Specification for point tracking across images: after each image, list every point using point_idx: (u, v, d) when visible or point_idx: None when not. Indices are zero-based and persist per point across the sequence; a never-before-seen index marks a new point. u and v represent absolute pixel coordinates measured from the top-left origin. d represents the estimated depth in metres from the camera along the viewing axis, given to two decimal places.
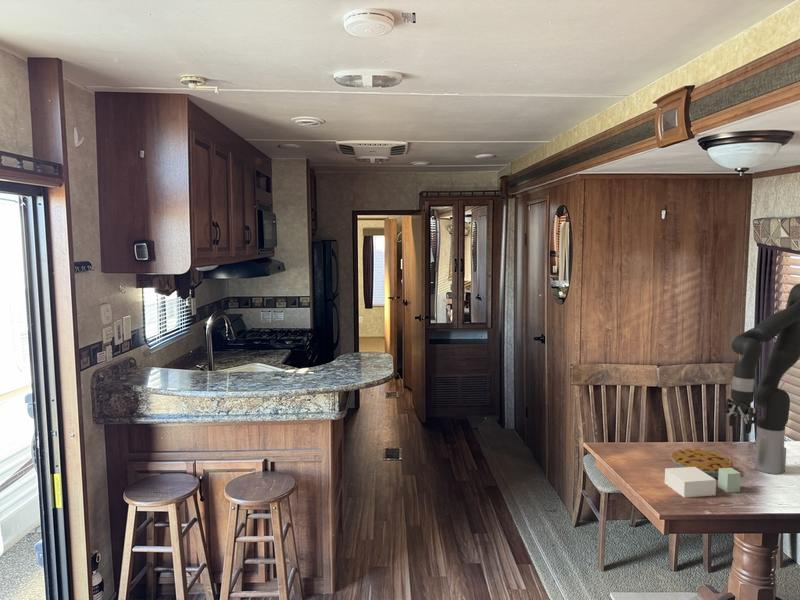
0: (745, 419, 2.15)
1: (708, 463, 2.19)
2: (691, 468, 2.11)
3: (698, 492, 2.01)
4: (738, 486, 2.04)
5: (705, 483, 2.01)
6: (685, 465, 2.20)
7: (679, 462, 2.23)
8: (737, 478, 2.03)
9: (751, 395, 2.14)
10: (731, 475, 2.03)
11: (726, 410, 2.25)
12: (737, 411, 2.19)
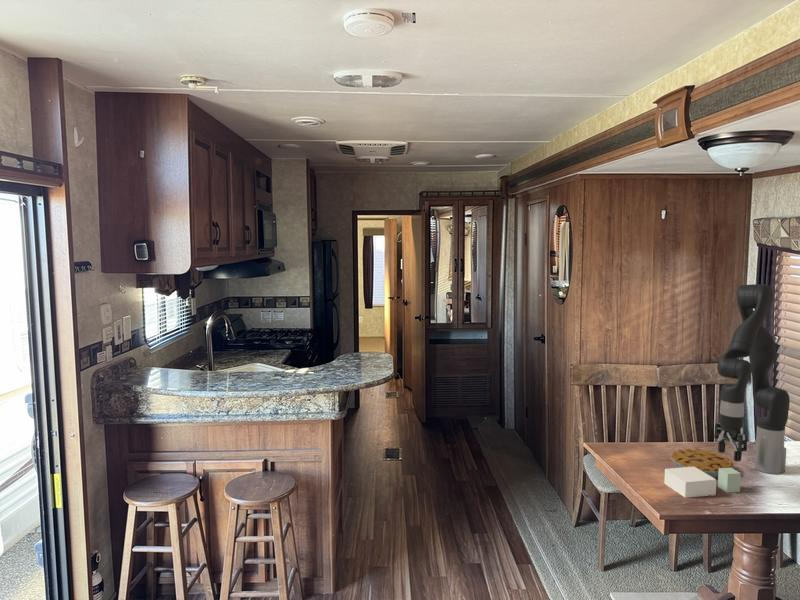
0: (734, 446, 2.00)
1: (708, 463, 2.19)
2: (690, 468, 2.11)
3: (698, 492, 2.01)
4: (738, 486, 2.04)
5: (705, 482, 2.01)
6: (685, 465, 2.20)
7: (679, 462, 2.23)
8: (737, 478, 2.03)
9: (740, 420, 2.00)
10: (731, 475, 2.03)
11: (715, 435, 2.11)
12: (726, 437, 2.05)
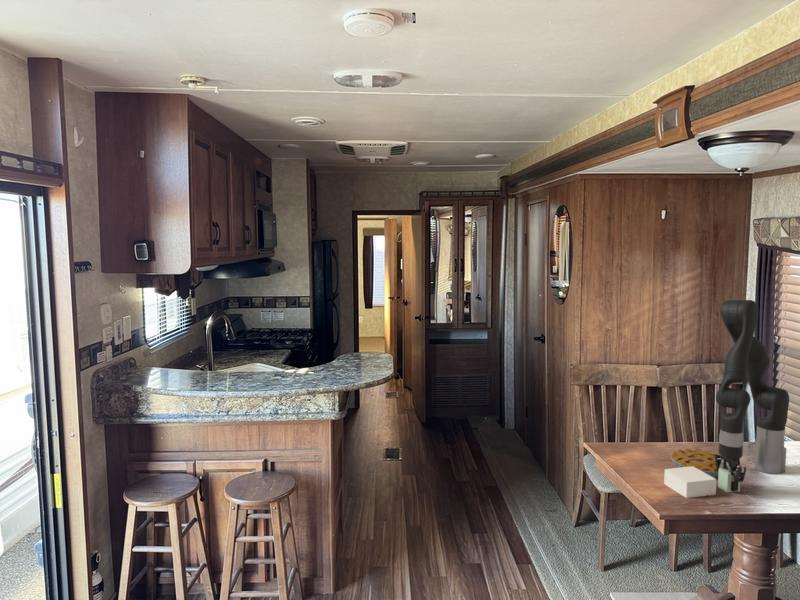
0: (732, 477, 2.02)
1: (708, 463, 2.19)
2: (690, 468, 2.11)
3: (699, 492, 2.01)
4: (738, 486, 2.04)
5: (706, 482, 2.01)
6: (685, 465, 2.20)
7: (679, 462, 2.23)
8: None
9: (739, 450, 2.01)
10: None
11: (717, 467, 2.10)
12: (726, 466, 2.06)
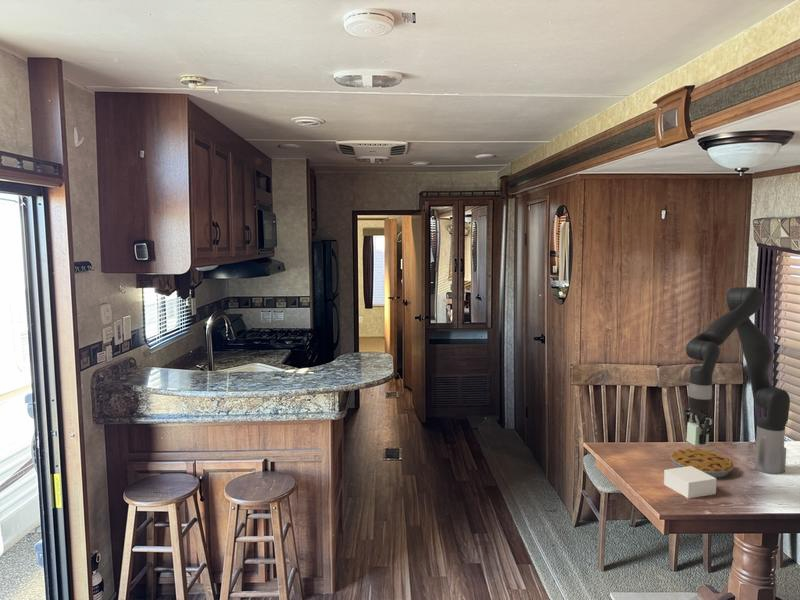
0: (700, 429, 2.01)
1: (708, 463, 2.19)
2: (688, 468, 2.11)
3: (700, 491, 2.01)
4: (706, 439, 2.02)
5: (707, 482, 2.01)
6: (685, 465, 2.20)
7: (679, 462, 2.23)
8: None
9: (708, 402, 1.99)
10: None
11: (686, 422, 2.09)
12: (694, 420, 2.04)
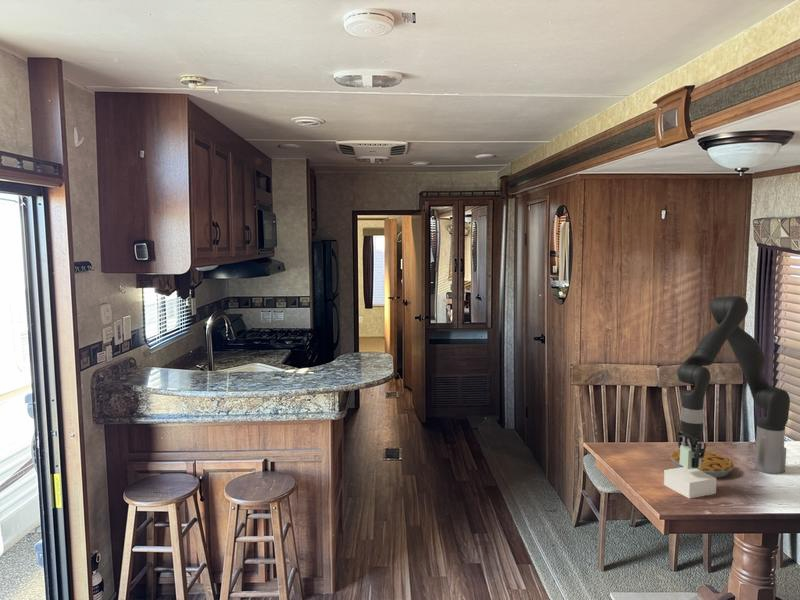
0: (692, 453, 2.02)
1: (708, 463, 2.19)
2: None
3: (701, 491, 2.01)
4: (699, 463, 2.03)
5: (707, 482, 2.01)
6: None
7: (679, 462, 2.23)
8: None
9: (700, 426, 2.01)
10: (691, 451, 2.03)
11: (679, 445, 2.10)
12: (687, 443, 2.05)
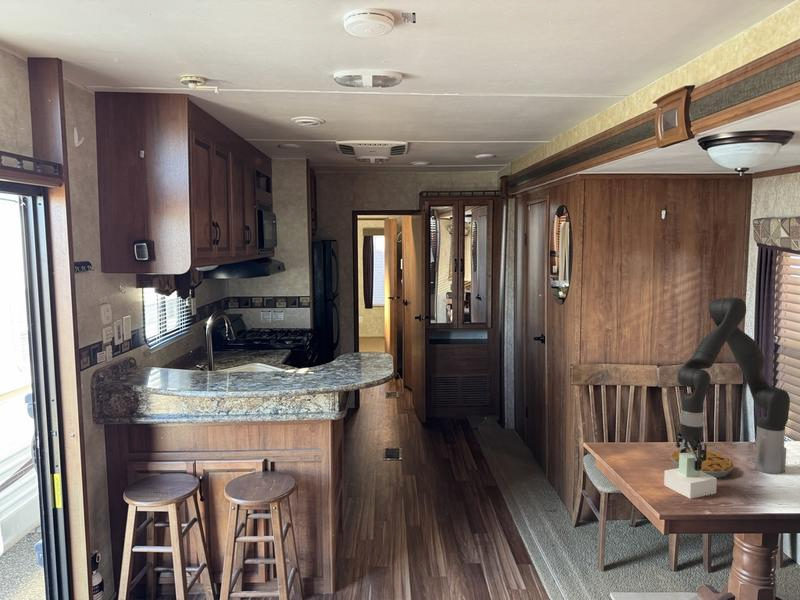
0: (695, 456, 2.01)
1: (708, 463, 2.19)
2: None
3: (701, 492, 2.01)
4: (698, 471, 2.04)
5: (707, 482, 2.01)
6: None
7: None
8: None
9: (700, 429, 2.01)
10: (690, 459, 2.03)
11: (677, 444, 2.12)
12: (687, 446, 2.05)
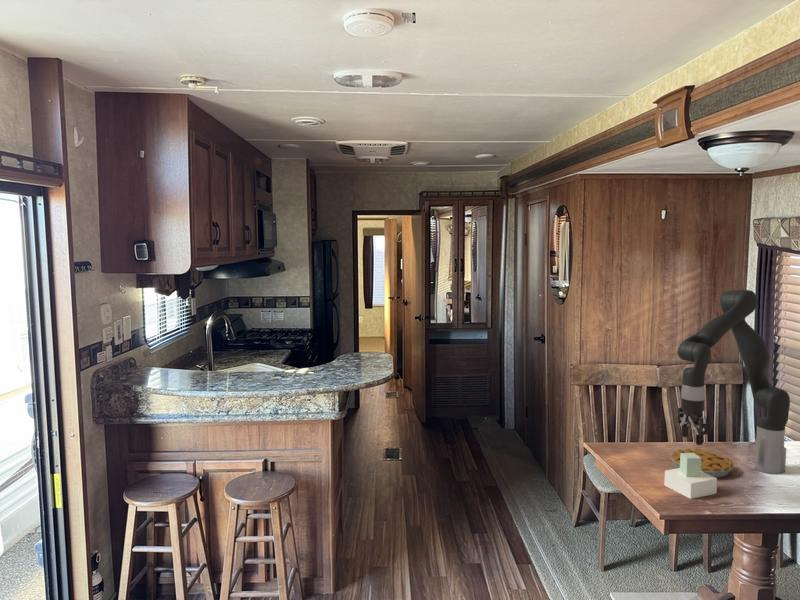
0: (696, 430, 2.00)
1: (708, 463, 2.19)
2: None
3: (702, 492, 2.01)
4: (698, 471, 2.04)
5: (708, 482, 2.01)
6: None
7: (679, 462, 2.23)
8: (697, 463, 2.03)
9: (701, 403, 2.00)
10: (690, 459, 2.03)
11: (678, 420, 2.10)
12: (688, 421, 2.04)
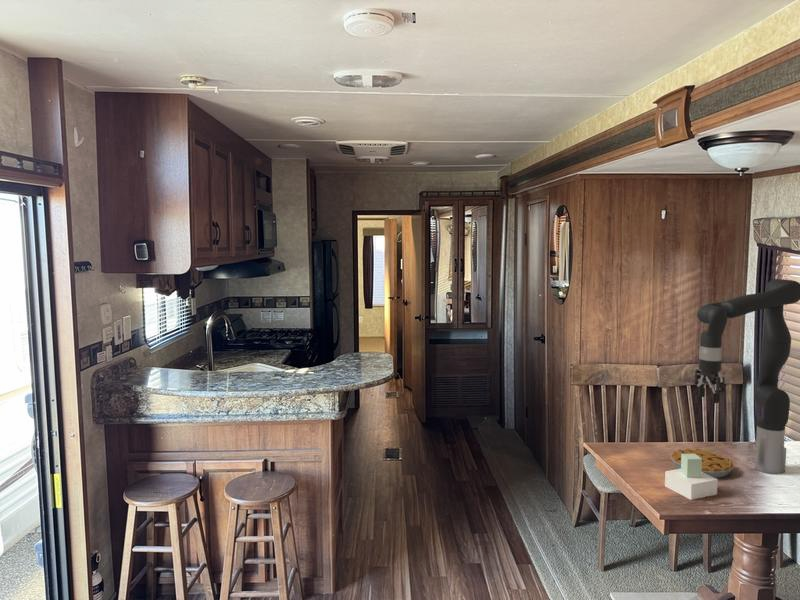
0: (713, 389, 2.10)
1: (708, 463, 2.19)
2: None
3: (702, 493, 2.00)
4: (699, 472, 2.03)
5: (708, 483, 2.00)
6: None
7: (679, 462, 2.23)
8: (698, 464, 2.03)
9: (718, 364, 2.10)
10: (691, 460, 2.03)
11: (695, 381, 2.21)
12: (705, 381, 2.14)
